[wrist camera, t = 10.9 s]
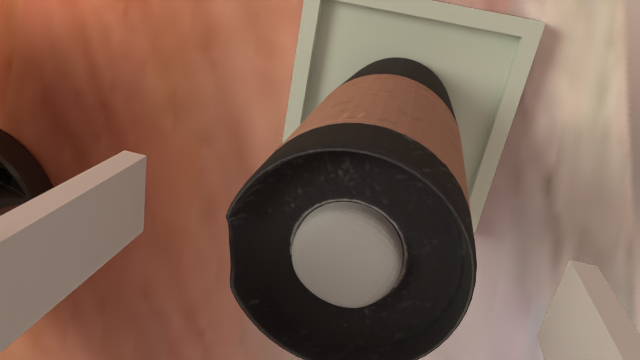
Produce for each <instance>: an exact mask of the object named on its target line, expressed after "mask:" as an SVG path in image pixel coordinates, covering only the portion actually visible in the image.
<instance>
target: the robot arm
mask: <svg viewBox="0 0 640 360" xmlns="http://www.w3.org/2000/svg"><path fill="white" fill-rule="evenodd" d="M146 161H147V156H146V155H142V154H138V153H134V152H130V151H125V150H124V151H122V152H120V153H118V154H117V155H115V156H113V157H111V158H109V159H107V160H105V161H103V162H101V163H100V164H98V165H96V166H94V167H92V168H90V169H88V170H86V171H84V172H83V173H81V174H79V175H77V176H75V177H73V178H71V179H69V180H67V181H66V182H64V183H62V184H60V185H58V186H56V187H54V188H52V186H51V184H50V182H49V180H48V178H47V177H46V175H45V173H44V172H43V170H42V169H41V167H40V166H39V164H38V163H37V162H36V161H35V159H34V158H33V157H32V156H31V155H30V154H29V153H28V151H27V150H25V149H24V148H23V147H22V146H21V145H20V144H19V143H18V142H17V141H15V140H14V139H13V138H12V137H10V136H9V135H7V134H6V133H4V132H3V131H1V130H0V353H1V352H2V351H3V350H4V349H5V348H7V347H8V346H9V345H10V344H11V343H13V342H14V341H15V340H16V339H17V338H18V337H20V336H21V335H22V334H23V333H24V332H25V331H27V330H28V329H29V328H30V327H31V326H33V325H34V324H35V323H36V322H37V321H38V320H40V319H41V318H42V317H43V316H44V315H45V314H47V313H48V312H49V311H50V310H51V309H53V308H54V307H55V306H56V305H57V304H58V303H60V302H61V301H62V300H63V299H64V298H65V297H67V296H68V295H69V294H70V293H71V292H72V291H74V290H75V289H76V288H77V287H78V286H80V285H81V284H82V283H83V282H84V281H85V280H87V279H88V278H89V277H90V276H91V275H92V274H94V273H95V272H96V271H97V270H98V269H100V268H101V267H102V266H103V265H104V264H105V263H107V262H108V261H109V260H110V259H111V258H112V257H114V256H115V255H116V254H117V253H118V252H120V251H121V250H122V249H123V248H124V247H125V246H127V245H128V244H129V243H130V242H131V241H132V240H134V239H135V238H136V237H137V236H138V235H140V234H141V233H142V232H143V231H144V210H145V185H146ZM537 337H538V340H539V343H540V346H541V349H542V352H543V355H544V358H545V360H640V334H639V332H638V331H637V329H636V328H635V326H634V324H633V323H632V321H631V320H630V318H629V316H628V315H627V313H626V312H625V310H624V308H623V307H622V305H621V304H620V302H619V300H618V299H617V297H616V296H615V294H614V292H613V291H612V289H611V287H610V286H609V284H608V283H607V281H606V279H605V278H604V276H603V275H602V273H601V271H600V270H599V268H598V267H597V266H594V265H590V264H586V263H582V262H578V261H574V260H569V263H568V265H567V267H566V269H565V272H564V274H563V276H562V279H561V281H560V283H559V286H558V288H557V290H556V293H555V295H554V297H553V300H552V302H551V304H550V307H549V309H548V311H547V313H546V316H545V318H544V320H543V323H542V325H541V327H540V330H539V332H538V334H537Z"/></svg>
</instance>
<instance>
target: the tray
mask: <svg viewBox="0 0 640 360" xmlns="http://www.w3.org/2000/svg"><path fill="white" fill-rule="evenodd" d="M545 24H546V22H543V21H539V20H533V19H528V18H523V17H518V16H513V15H507V14H502V13H497V12H492V11H486V10H481V9H476V8H471V7H466V6H460V5H455V4H450V3H445V2H439V1H434V0H304V3H303V10H302V17H301V23H300V30H299V36H298V43H297V50H296V56H295V63H294V69H293V76H292V82H291V89H290V96H289V102H288V109H287V115H286V122H285V128H284V135H283V142H282V144H283V143H284V141H285V140H286V139H287V138H288V137H289V136H290V135H291V134H292V133H293V132H294V131H295V130H296V129H297V128H298V127H299V126H300V125H301V123H302V122H303V121H304V120H305V119H306V118H307V117H308V116H309V115H310V114H311V113H312V112H313V111H314V110H315V109H316V108H317V107H318V105H319V104H320V103H321V102H322V101H323V100H324V99H325V98H326V97H327V96H328V95H329V94H330V93H331V92H332V91H334V90H335V89H336V88H337V87H339V86H340V85H341V84H342V83H344V82H345V81H346V80H348V79H349V78H350V77H351V76H353V75H354V74H355V73H357V72H358V71H359V70H360V69H362V68H363V67H365V66H367V65H368V64H370V63H373V62H375V61H378V60H381V59H385V58H394V57H399V58H407V59H411V60H414V61H417V62H419V63H421V64H423V65H425V66H427V67H428V68H429V69H431V70H432V71H433V72H434V73H435V74H436V75H437V76H438V77H439V79H440V80H441V81H442V83H443V85H444V86H445V88H446V90H447V93H448V95H449V98H450V101H451V104H452V108H453V111H454V115H455V118H456V121H457V125H458V128H459V133H460V137H461V143H462V151H463V158H464V166H465V173H466V181H467V188H468V196H469V203H470V211H471V219H472V226H473V233H474V234H475V231H476V229H477V226H478V223H479V220H480V217H481V214H482V211H483V208H484V205H485V202H486V199H487V196H488V193H489V190H490V187H491V184H492V181H493V178H494V175H495V172H496V169H497V166H498V163H499V160H500V157H501V154H502V152H503V149H504V146H505V143H506V140H507V137H508V134H509V131H510V128H511V125H512V122H513V119H514V116H515V113H516V110H517V107H518V104H519V101H520V98H521V95H522V92H523V89H524V86H525V83H526V80H527V77H528V75H529V72H530V69H531V66H532V63H533V60H534V57H535V54H536V51H537V48H538V45H539V42H540V39H541V36H542V33H543V30H544V27H545Z"/></svg>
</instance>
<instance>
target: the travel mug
mask: <svg viewBox="0 0 640 360" xmlns="http://www.w3.org/2000/svg"><path fill="white" fill-rule="evenodd" d="M226 219H227V221H228V226H229V245H230V261H231V272H230V287H231V290H232V293H233V295H234V297H235V299H236V301H237V302H238V304H239V306H240V307H241V309H242V310H243V311H244V313H245V314H246V315H247V317H248V318H249V319H250V320H251V321H252V322H253V324H254V325H255V326H256V327H257V328H258V329H259V330H260V331H261V332H262V333H263V334H265V335H266V336H267V337H268V338H269V339H270V340H272V341H273V342H274V343H276V344H277V345H279V346H280V347H281V348H283V349H285V350H286V351H288V352H290V353H292V354H293V355H295V356H297V357H299V358H302V359H304V360H418V359H420V358H422V357H424V356H426V355H427V354H429V353H430V352H432V351H433V350H435V349H436V348H438V347H439V346H440V345H441V344H442V343H443V342H444V341H445V340H447V339H448V338H449V336H450V335H451V334H452V333H453V332H454V330H455V329H456V328H457V327H458V326H459V324H460V322H461V321H462V319H463V317H464V316H465V314H466V312H467V310H468V307H469V305H470V302H471V300H472V296H473V291H474V287H475V283H476V269H477V261H476V249H475V241H474V233H473V226H472V219H471V211H470V203H469V196H468V188H467V181H466V173H465V166H464V158H463V151H462V143H461V137H460V133H459V128H458V125H457V121H456V118H455V115H454V111H453V108H452V104H451V101H450V98H449V95H448V93H447V90H446V88H445V86H444V85H443V83H442V81H441V80H440V79H439V77H438V76H437V75H436V74H435V73H434V72H433V71H432V70H431V69H429V68H428V67H427V66H425V65H423V64H421V63H419V62H417V61H414V60H411V59H407V58H399V57H394V58H385V59H381V60H378V61H375V62H373V63H370V64H368V65H367V66H365V67H363V68H362V69H360V70H359V71H358V72H357V73H355V74H354V75H353V76H351V77H350V78H349V79H348V80H346V81H345V82H344V83H342V84H341V85H340V86H339V87H337V88H336V89H335V90H334V91H332V92H331V93H330V94H329V95H328V96H327V97H326V98H325V99H324V100H323V101H322V102H321V103H320V104H319V105H318V107H317V108H316V109H315V110H314V111H313V112H312V113H311V114H310V115H309V116H308V117H307V118H306V119H305V120H304V121H303V122H302V123H301V125H300V126H299V127H298V128H297V129H296V130H295V131H294V132H293V133H292V134H291V135H290V136H289V137H288V138H287V139H286V140H285V141H284V143H283V144H282V145H281V146H280V147H279V148H278V149H277V150H276V151H275V152H274V153H273V154H272V155H271V156H270V157H269V158H268V159H267V160H266V162H265V163H264V164H263V165H262V166H261V167H260V168H259V169H258V170H257V171H256V172H255V173H254V174H253V175H252V176H251V177H250V179H249V180H248V181H247V182H246V183H245V184H244V186H243V187H242V188H241V190H240V191H239V192H238V194H237V195H236V197H235V198H234V200H233V202H232V203H231V205H230V207H229V209H228V211H227V214H226Z"/></svg>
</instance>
